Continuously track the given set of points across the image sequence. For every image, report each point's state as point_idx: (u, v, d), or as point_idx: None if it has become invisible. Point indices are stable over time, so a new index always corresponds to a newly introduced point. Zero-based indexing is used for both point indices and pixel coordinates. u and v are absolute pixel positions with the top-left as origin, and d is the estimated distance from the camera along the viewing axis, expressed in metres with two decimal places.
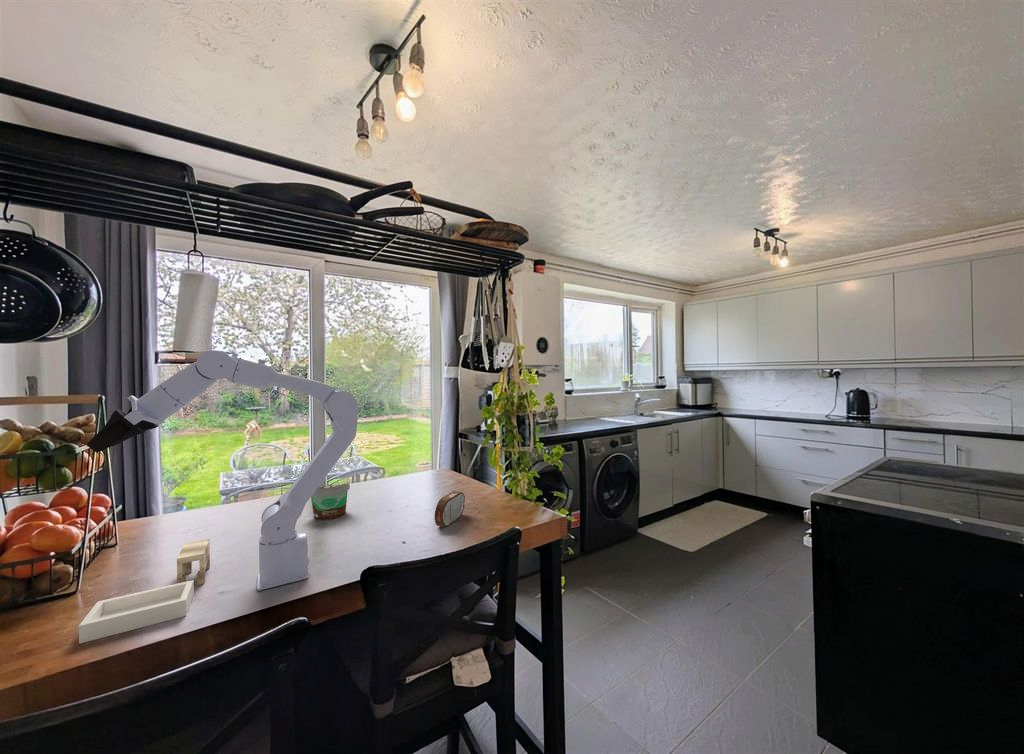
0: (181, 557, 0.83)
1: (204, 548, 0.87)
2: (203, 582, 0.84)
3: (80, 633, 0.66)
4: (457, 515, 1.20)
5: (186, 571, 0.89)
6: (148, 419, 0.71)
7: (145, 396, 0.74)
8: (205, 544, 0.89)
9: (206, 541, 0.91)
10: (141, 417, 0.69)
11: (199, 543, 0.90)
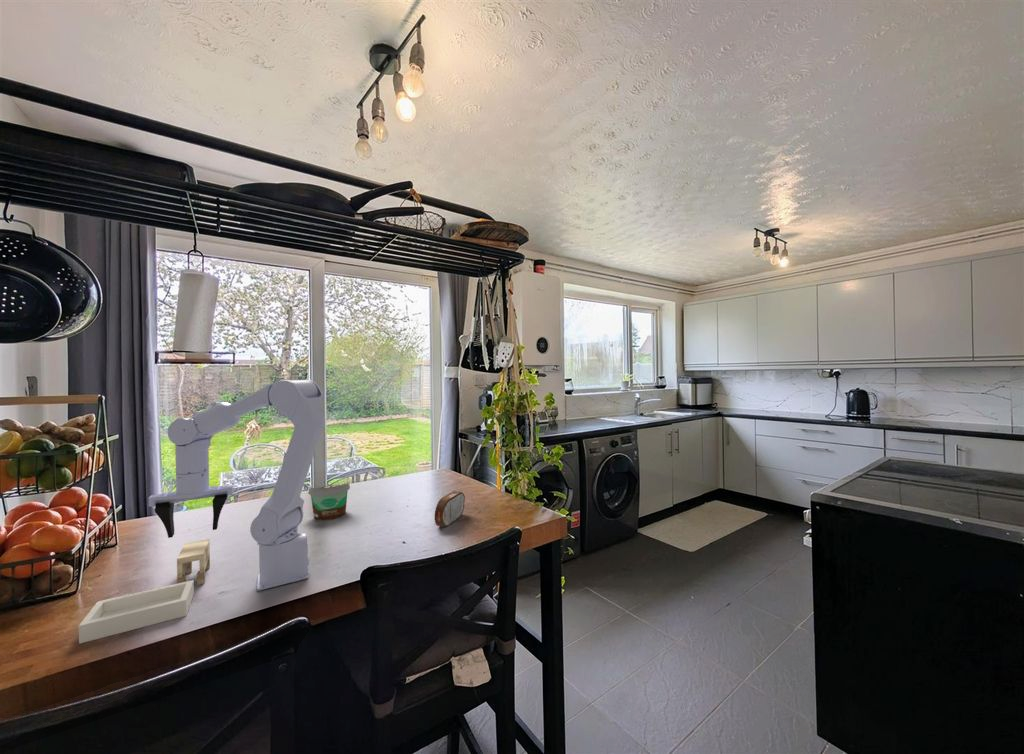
0: (181, 557, 0.83)
1: (204, 548, 0.87)
2: (203, 582, 0.84)
3: (80, 633, 0.66)
4: (457, 515, 1.20)
5: (186, 571, 0.89)
6: (162, 498, 0.83)
7: None
8: (205, 544, 0.89)
9: (206, 541, 0.91)
10: None
11: (199, 543, 0.90)
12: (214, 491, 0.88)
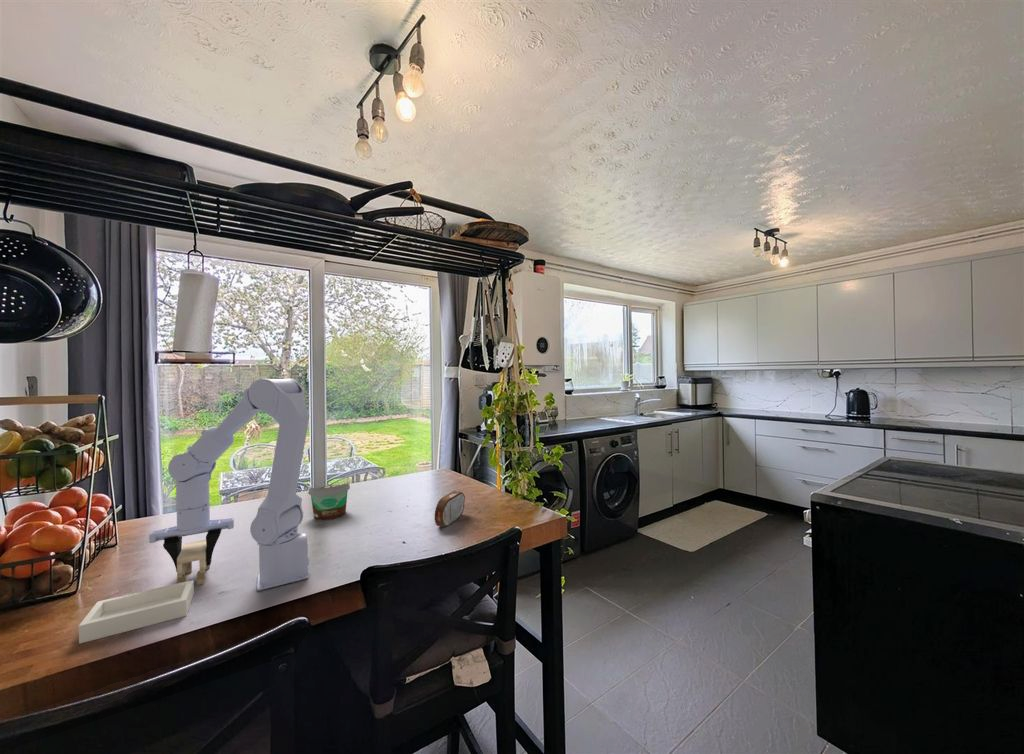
0: (181, 557, 0.83)
1: (204, 548, 0.87)
2: (203, 582, 0.84)
3: (80, 633, 0.66)
4: (457, 515, 1.20)
5: (186, 571, 0.89)
6: (163, 534, 0.83)
7: None
8: (205, 544, 0.89)
9: None
10: (149, 535, 0.83)
11: (199, 543, 0.90)
12: (215, 525, 0.88)
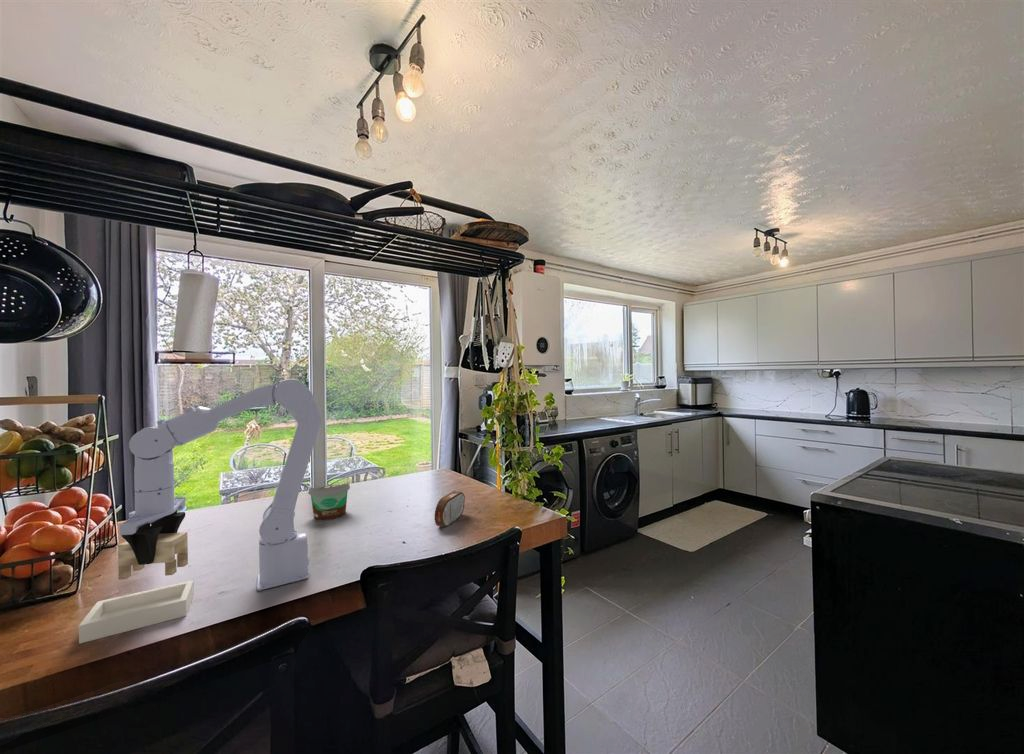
0: (171, 540, 0.75)
1: (168, 533, 0.79)
2: (187, 562, 0.79)
3: (80, 633, 0.66)
4: (457, 515, 1.20)
5: (127, 575, 0.74)
6: (144, 520, 0.72)
7: None
8: None
9: None
10: (130, 525, 0.69)
11: None
12: (179, 505, 0.81)
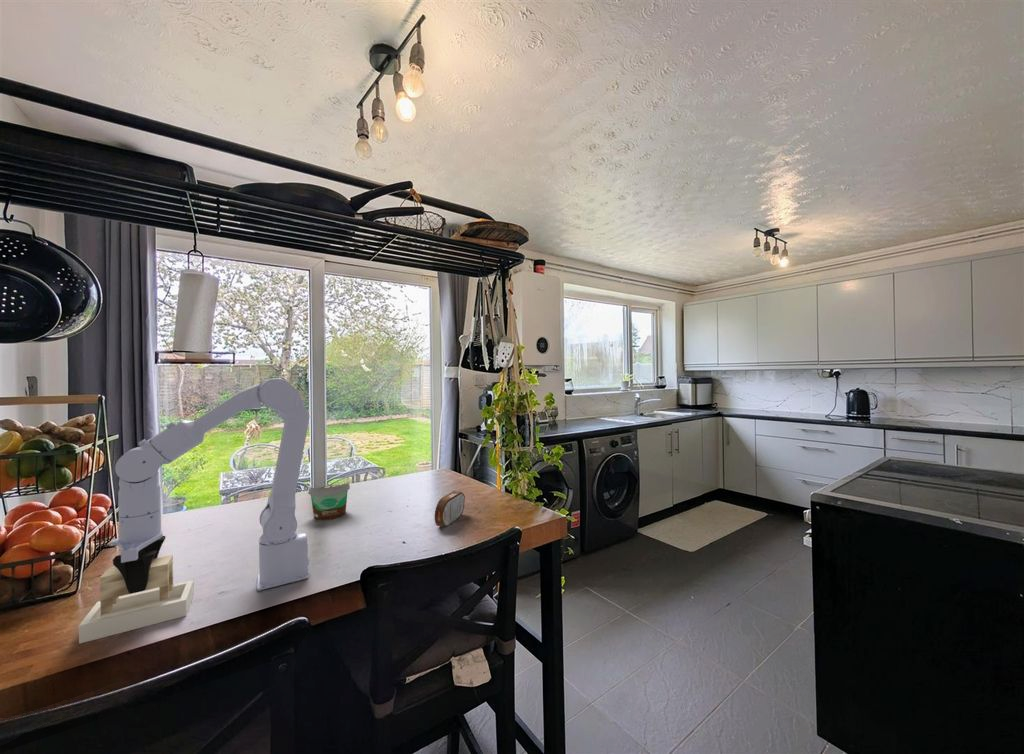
0: (165, 563, 0.74)
1: None
2: None
3: (80, 633, 0.66)
4: (457, 515, 1.20)
5: (110, 608, 0.69)
6: (143, 545, 0.69)
7: (120, 533, 0.70)
8: None
9: None
10: (134, 551, 0.67)
11: None
12: None
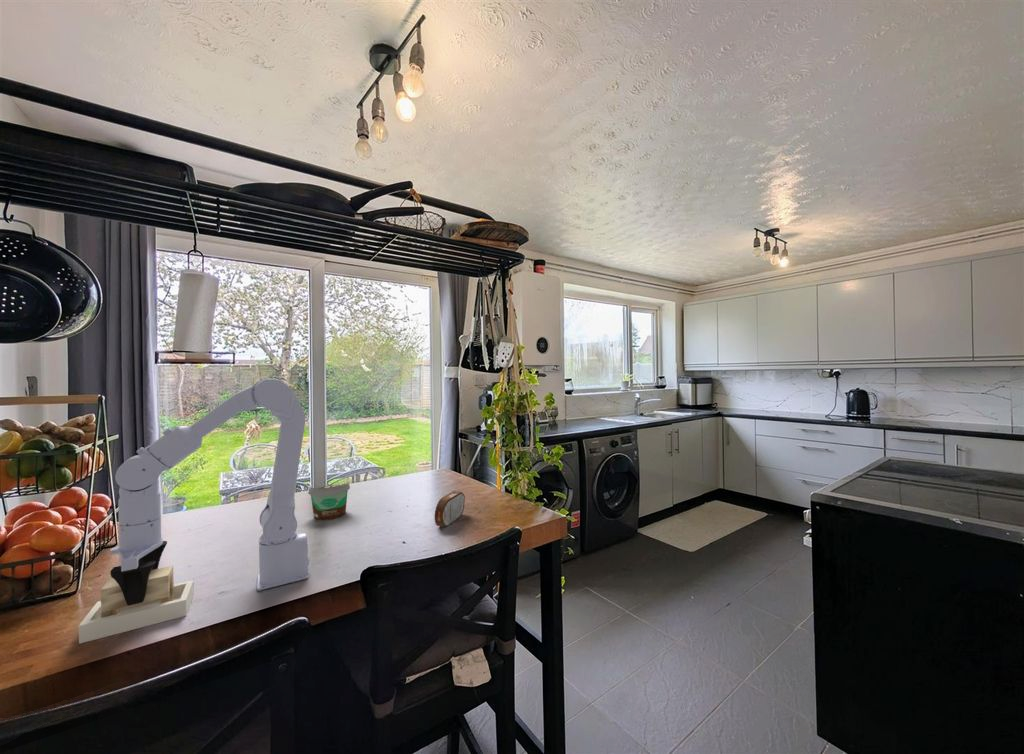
0: (166, 574, 0.74)
1: (151, 570, 0.75)
2: (173, 597, 0.77)
3: (80, 633, 0.66)
4: (457, 515, 1.20)
5: None
6: (144, 553, 0.69)
7: (120, 541, 0.70)
8: None
9: None
10: (134, 559, 0.67)
11: None
12: None
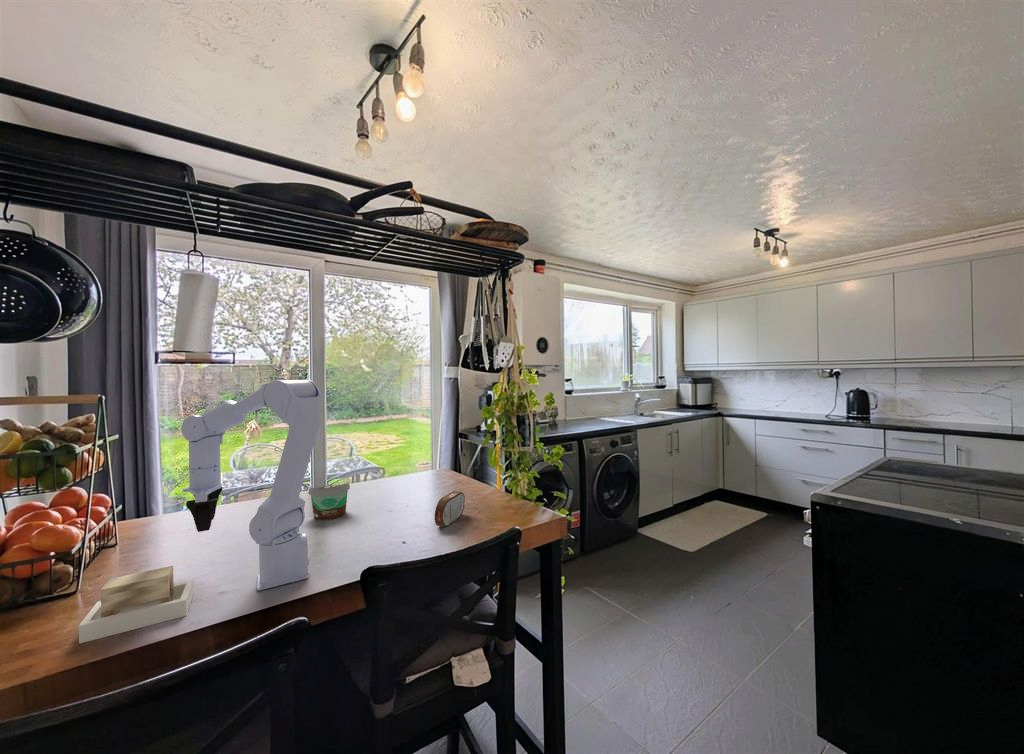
0: (166, 574, 0.74)
1: (151, 570, 0.75)
2: (173, 597, 0.77)
3: (80, 633, 0.66)
4: (457, 515, 1.20)
5: None
6: (210, 491, 0.87)
7: (191, 481, 0.88)
8: (133, 574, 0.74)
9: (118, 577, 0.73)
10: (205, 494, 0.85)
11: (122, 579, 0.72)
12: None
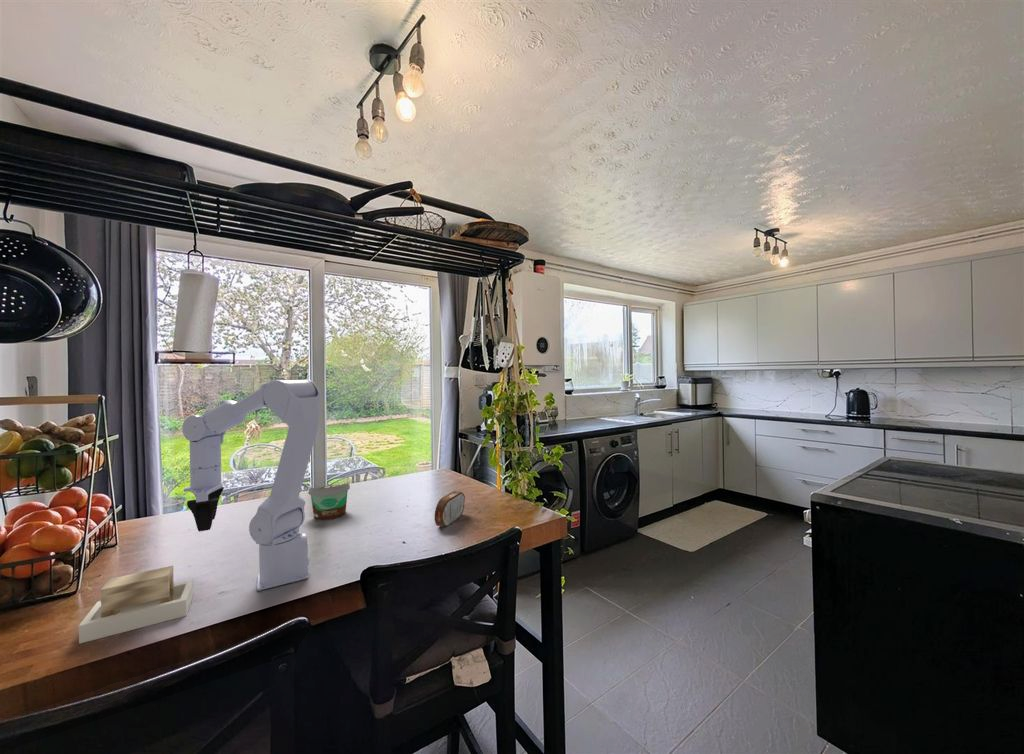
0: (166, 574, 0.74)
1: (151, 570, 0.75)
2: (173, 597, 0.77)
3: (80, 633, 0.66)
4: (457, 515, 1.20)
5: None
6: (211, 490, 0.87)
7: (192, 481, 0.88)
8: (133, 574, 0.74)
9: (118, 577, 0.73)
10: (205, 493, 0.85)
11: (122, 579, 0.72)
12: None
